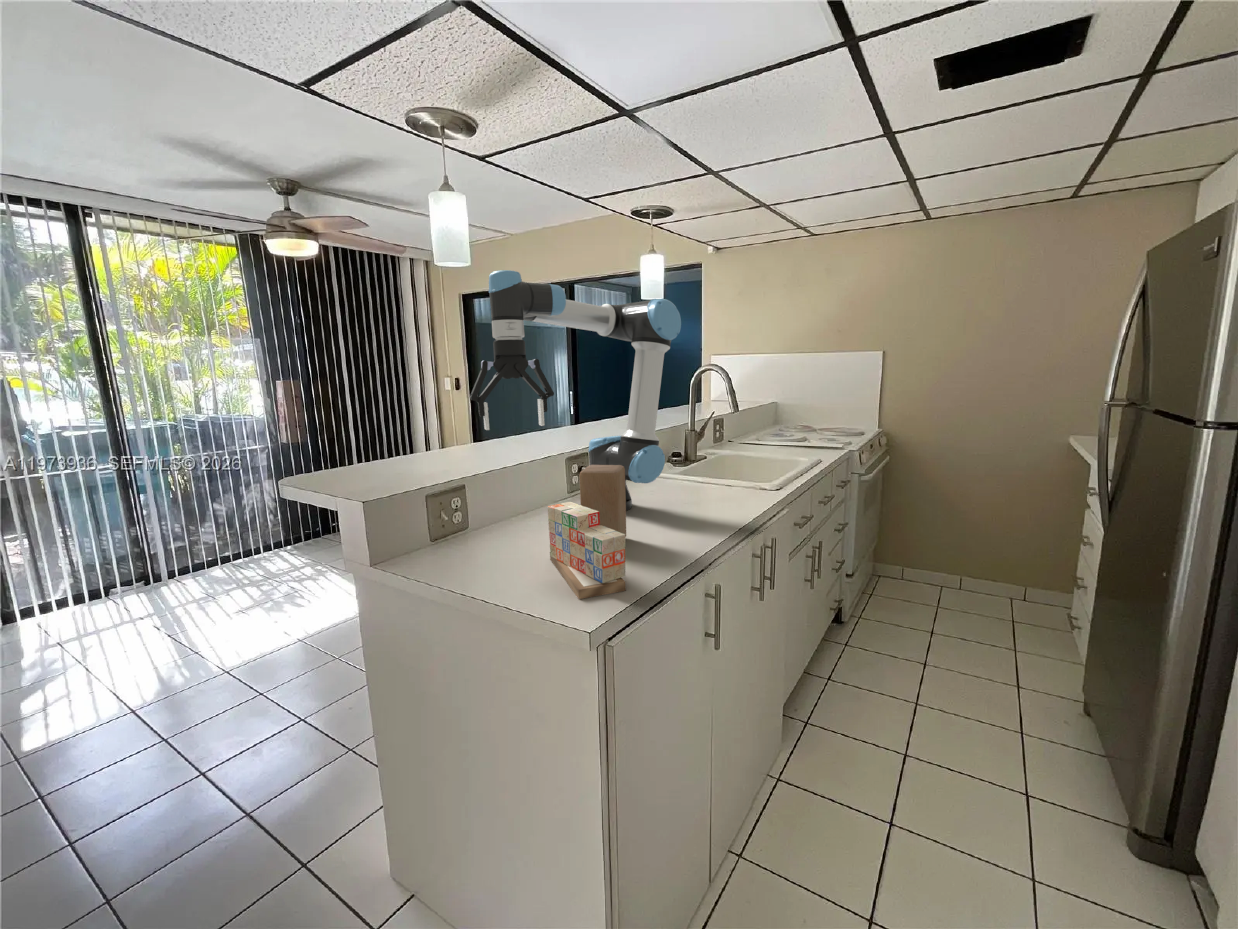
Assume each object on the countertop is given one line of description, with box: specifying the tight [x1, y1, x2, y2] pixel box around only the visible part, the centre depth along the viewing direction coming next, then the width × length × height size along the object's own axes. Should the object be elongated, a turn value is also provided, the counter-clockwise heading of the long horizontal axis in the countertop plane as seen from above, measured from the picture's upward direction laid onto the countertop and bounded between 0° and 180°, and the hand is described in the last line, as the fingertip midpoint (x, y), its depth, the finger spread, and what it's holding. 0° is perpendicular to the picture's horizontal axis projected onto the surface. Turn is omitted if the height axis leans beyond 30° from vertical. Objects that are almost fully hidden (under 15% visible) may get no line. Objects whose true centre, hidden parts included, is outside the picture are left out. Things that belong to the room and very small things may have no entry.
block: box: [578, 465, 627, 539], centre depth 138 cm, size 10×10×20 cm
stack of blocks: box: [547, 501, 626, 583], centre depth 118 cm, size 21×6×12 cm, turn 37°
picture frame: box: [549, 553, 627, 600], centre depth 120 cm, size 10×24×2 cm, turn 21°
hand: (514, 427), depth 133 cm, fingers open, 13 cm apart
